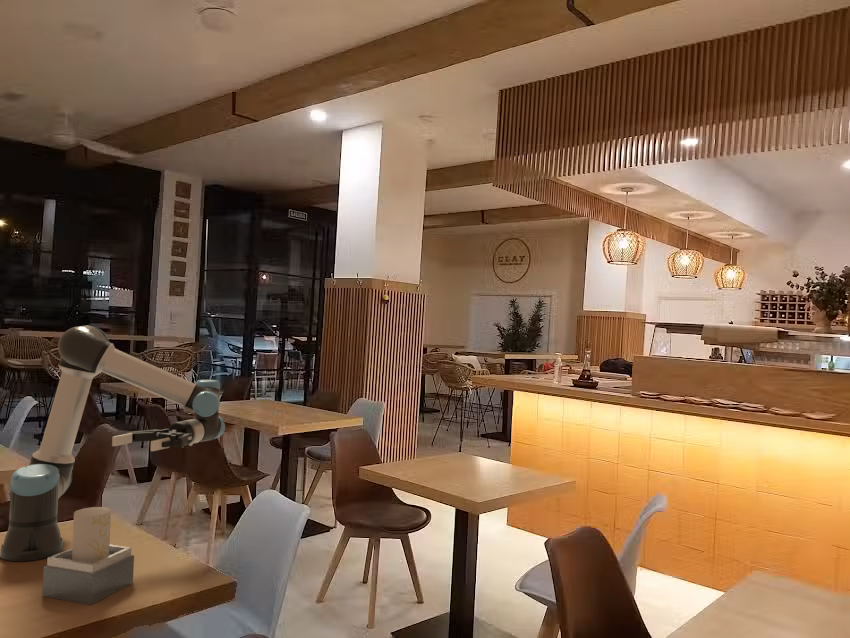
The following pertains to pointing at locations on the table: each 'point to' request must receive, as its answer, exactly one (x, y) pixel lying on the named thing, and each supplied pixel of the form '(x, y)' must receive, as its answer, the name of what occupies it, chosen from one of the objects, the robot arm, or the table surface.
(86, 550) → the cup
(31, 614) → the table surface
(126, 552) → the box
